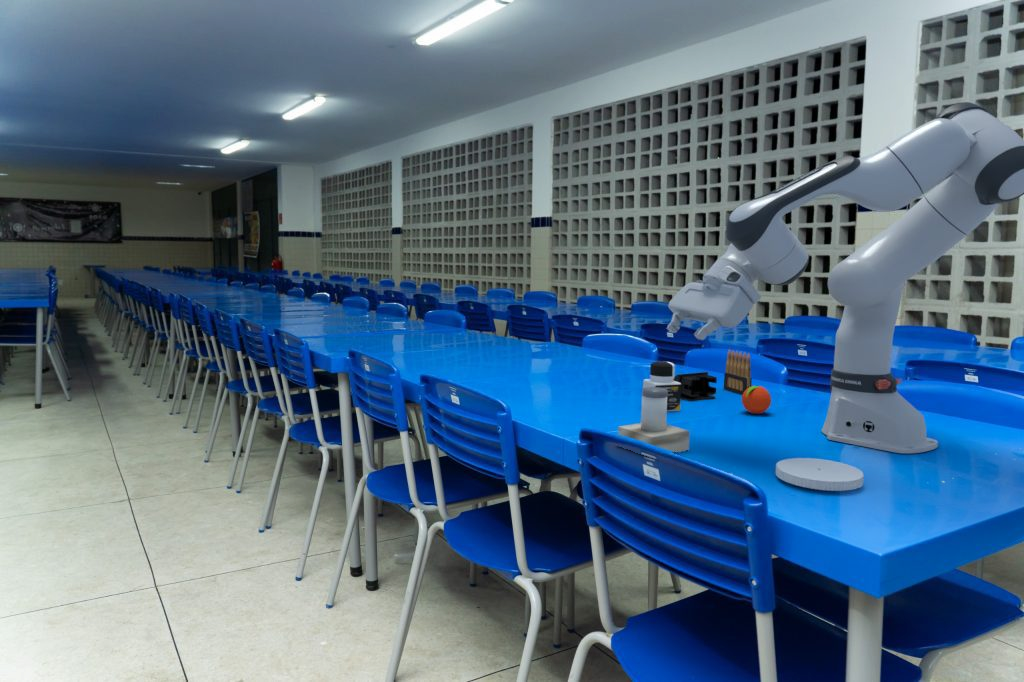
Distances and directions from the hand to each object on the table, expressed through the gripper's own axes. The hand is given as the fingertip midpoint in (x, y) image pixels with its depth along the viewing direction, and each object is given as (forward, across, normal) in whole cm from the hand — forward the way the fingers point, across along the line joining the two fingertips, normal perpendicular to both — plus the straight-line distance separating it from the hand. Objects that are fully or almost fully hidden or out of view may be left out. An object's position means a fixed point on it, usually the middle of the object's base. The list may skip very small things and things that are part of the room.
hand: (683, 334), depth 148 cm
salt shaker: (+19, +2, +8) cm, 20 cm away
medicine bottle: (+7, -30, +28) cm, 41 cm away
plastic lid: (+11, +31, +21) cm, 39 cm away
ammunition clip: (-14, -40, +52) cm, 68 cm away
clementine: (-6, -17, +41) cm, 45 cm away
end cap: (-4, -39, +41) cm, 56 cm away
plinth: (+22, +2, +10) cm, 24 cm away
